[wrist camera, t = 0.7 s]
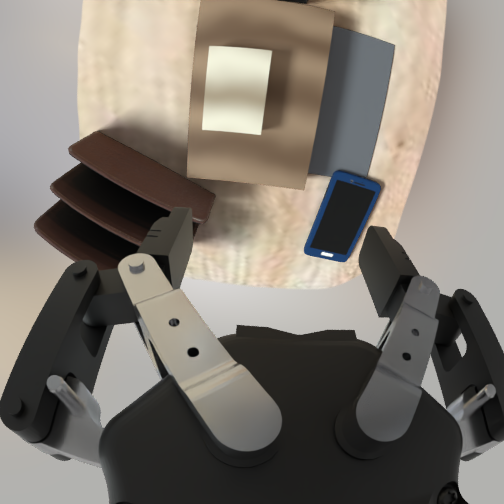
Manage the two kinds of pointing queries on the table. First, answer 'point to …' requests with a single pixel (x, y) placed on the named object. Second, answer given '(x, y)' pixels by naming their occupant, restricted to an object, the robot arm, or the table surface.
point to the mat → (351, 103)
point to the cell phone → (341, 216)
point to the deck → (277, 96)
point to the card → (236, 89)
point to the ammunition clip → (297, 0)
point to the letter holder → (114, 202)
